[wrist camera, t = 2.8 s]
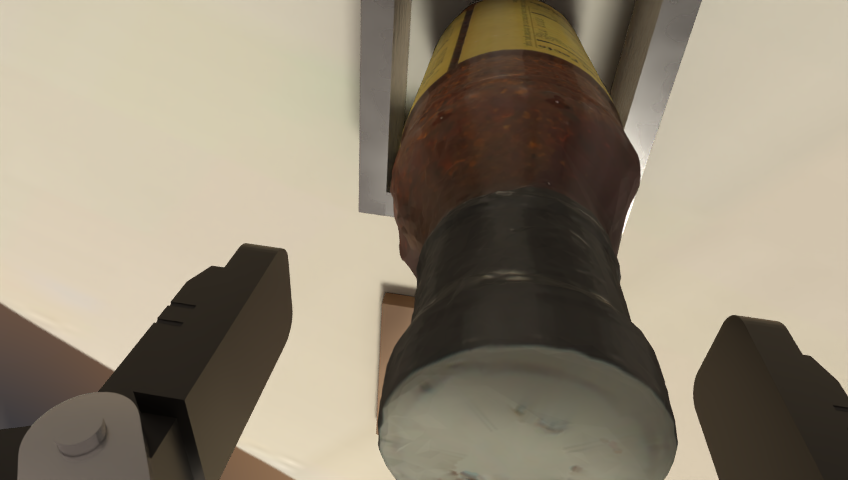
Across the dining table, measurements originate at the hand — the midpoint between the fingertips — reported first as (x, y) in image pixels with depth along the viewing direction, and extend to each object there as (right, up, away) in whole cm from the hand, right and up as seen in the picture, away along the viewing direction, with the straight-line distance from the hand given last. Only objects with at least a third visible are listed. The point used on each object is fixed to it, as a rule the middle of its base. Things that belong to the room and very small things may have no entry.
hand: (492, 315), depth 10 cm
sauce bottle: (+3, +9, +14) cm, 17 cm away
